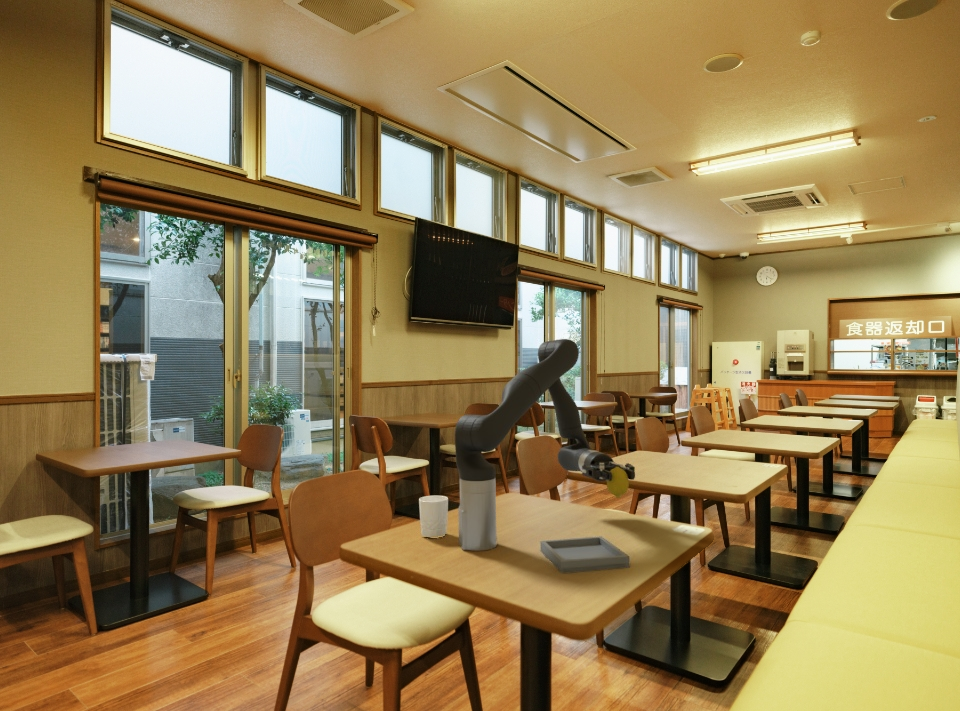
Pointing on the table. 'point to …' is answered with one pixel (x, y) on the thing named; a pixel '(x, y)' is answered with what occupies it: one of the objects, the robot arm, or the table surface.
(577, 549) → the tray
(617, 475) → the lemon
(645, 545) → the table surface
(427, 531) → the white cup
